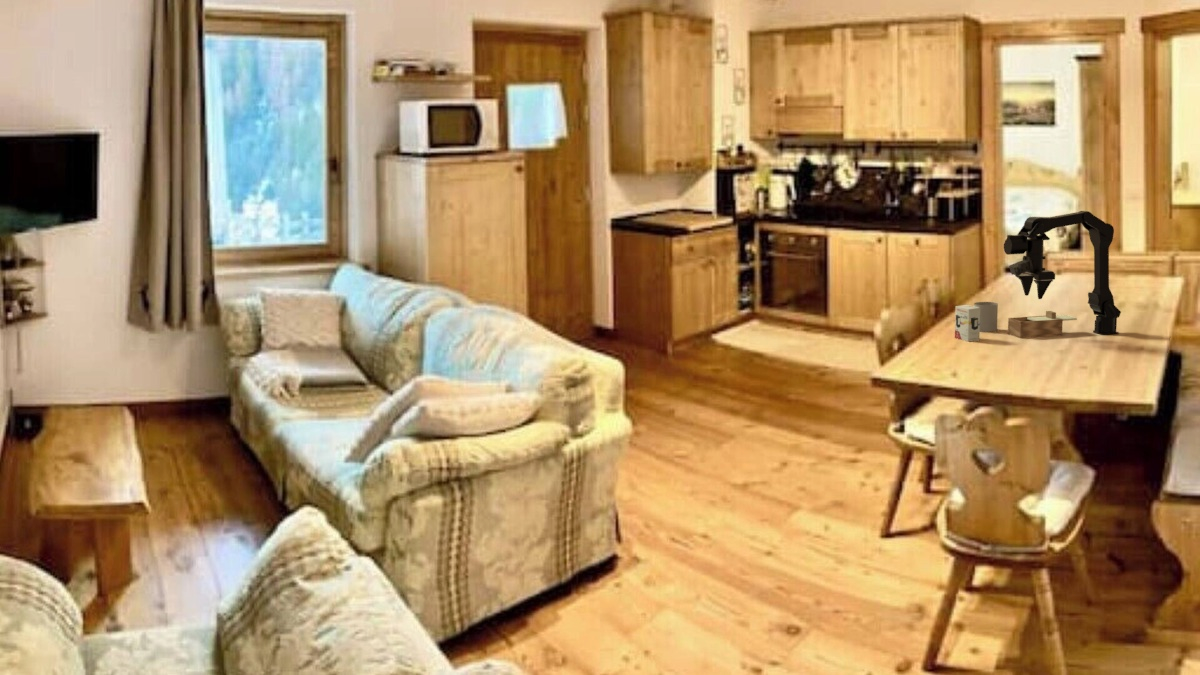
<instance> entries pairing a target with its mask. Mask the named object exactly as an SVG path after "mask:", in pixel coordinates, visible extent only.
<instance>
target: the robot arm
mask: <svg viewBox="0 0 1200 675" xmlns="http://www.w3.org/2000/svg"><path fill="white" fill-rule="evenodd" d="M1078 224H1081V225H1082V227H1083V228H1084V229H1086V231H1088V236H1089V239H1090V242H1091V244H1092V246H1093V261H1094V262H1093V263H1094V265H1093V266H1094V267H1093V270H1094V271H1093V272H1094V274H1093V276H1094V278H1093V280H1094V286H1093V290H1092V291H1091V292H1089V291H1088V292H1087V293H1088V294H1087V295H1088V296H1087V297H1088V300H1087V304H1089V308H1090V309H1091V310H1092V311H1093V315H1095V320H1094V330H1092V332H1093V333H1095V334H1099V335H1119V334H1120V332H1119V331H1117V323H1118V321H1117V319H1118V318H1120V317H1121V313H1122V311H1121V310H1120V309H1119V308H1118V307H1117V306H1116V305H1115V299H1114V295H1113V293H1112V291H1111V289H1110V249H1109V248H1110V247H1111V244H1112V242H1113V240H1114V234H1115V229H1114V226H1113V225H1112V224H1111V223H1108V222H1105V221H1104V220H1102V219H1101V218H1098V217H1097V216H1095V215H1094V214H1093V213H1092V212H1090V211H1088V210H1087V211H1086V210H1080V211H1076V212H1071V213H1065V214H1064V213H1063V214H1060V215H1055V216H1046V217H1045V216H1029V217H1027V218H1026V220H1025V221H1024V223H1023V226H1022V227H1021V229H1020V230H1019V231H1018V233H1017V234H1014V235H1012V234H1007V236H1006V237H1007V238H1006V239H1005V240H1004V244H1003V251H1004V254H1006V255H1023V256H1022V259H1021V260H1020V261H1016V262H1015V263H1013V264H1010V265H1009V270H1010V273H1011V275H1012V276H1013V275H1015V277H1016V278H1018V280H1020V283H1021V286H1022V290H1023V293H1024V296H1027V297H1028V296H1029V294H1030V292H1031V288H1032V286H1033V285H1032V284H1033V282H1034V283H1035V284H1036V288H1037V289H1036V290H1037V299H1038V300H1042V299H1043V297H1044V295H1045V293H1046V292H1047V290H1048V288H1049V286H1050V285H1051V283H1052V282H1054V280H1056V273H1055V272H1054V271H1052V270H1046V267H1044V266H1043V265H1044V260H1046V259H1047V258H1046V256H1045V255H1044V242H1045V241H1049V240H1050V237H1049V236H1048V235H1047V234H1046V233H1048V232H1051V231H1052V230H1053V229H1056V228H1062V227H1067V226H1073V225H1078ZM1024 254H1025V255H1024Z"/></svg>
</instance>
